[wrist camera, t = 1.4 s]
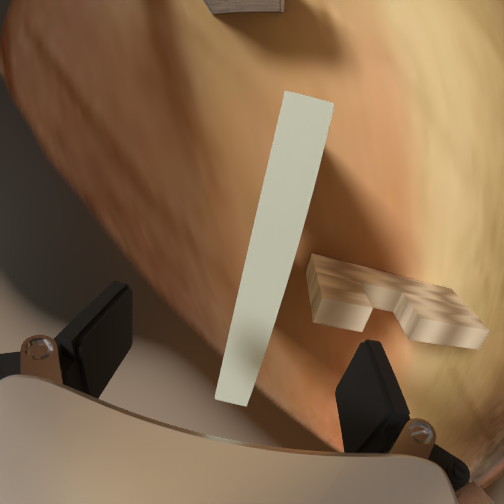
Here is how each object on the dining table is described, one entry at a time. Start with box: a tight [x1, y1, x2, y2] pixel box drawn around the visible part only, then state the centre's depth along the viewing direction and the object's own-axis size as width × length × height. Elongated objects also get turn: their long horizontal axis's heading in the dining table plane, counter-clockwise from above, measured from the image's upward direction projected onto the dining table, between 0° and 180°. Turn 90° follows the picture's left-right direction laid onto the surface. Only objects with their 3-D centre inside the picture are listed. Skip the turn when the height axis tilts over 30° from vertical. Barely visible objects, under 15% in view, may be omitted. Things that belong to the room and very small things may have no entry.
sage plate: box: [215, 91, 334, 406], centre depth 23 cm, size 20×2×16 cm, turn 167°
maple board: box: [306, 253, 490, 349], centre depth 27 cm, size 20×2×10 cm, turn 77°
